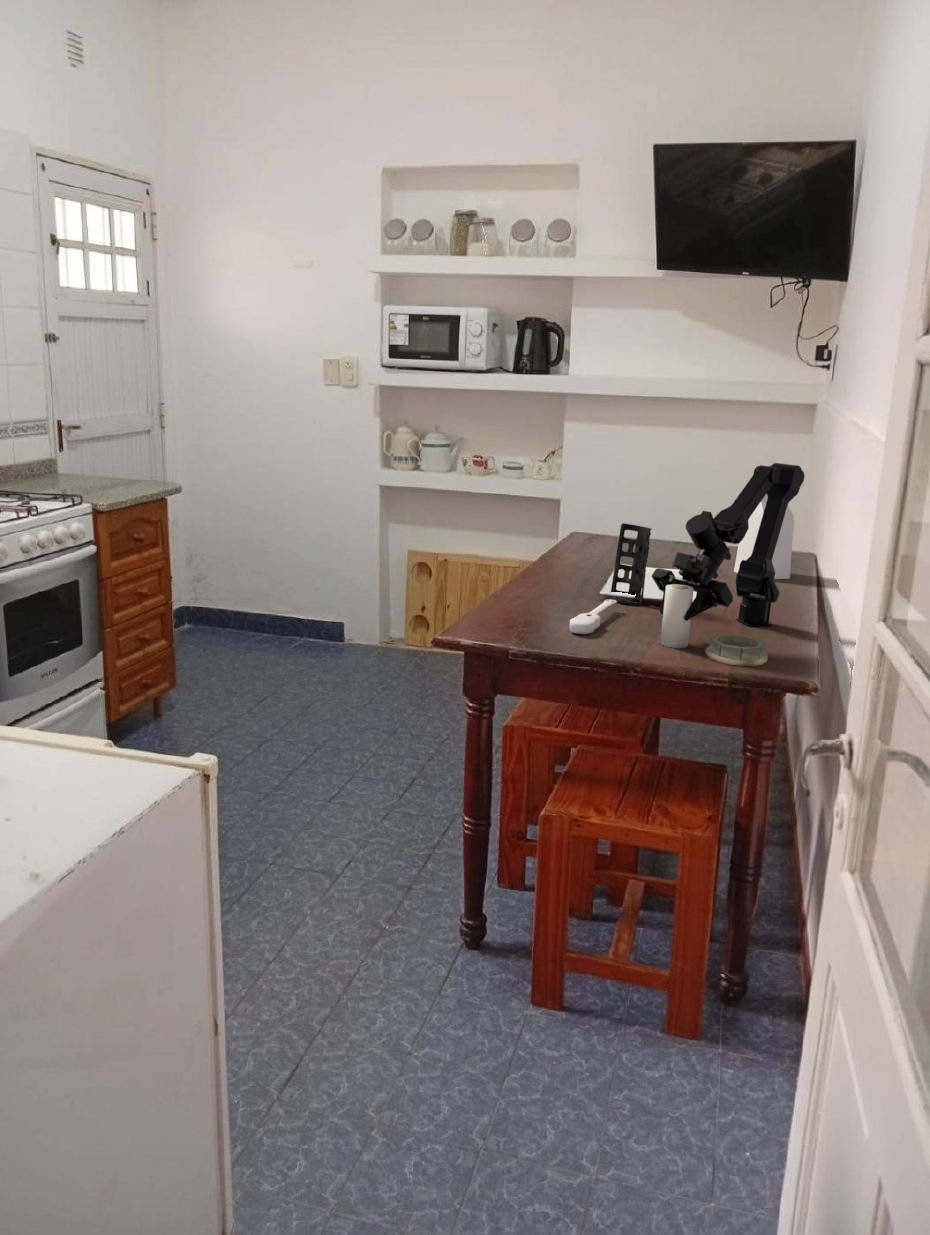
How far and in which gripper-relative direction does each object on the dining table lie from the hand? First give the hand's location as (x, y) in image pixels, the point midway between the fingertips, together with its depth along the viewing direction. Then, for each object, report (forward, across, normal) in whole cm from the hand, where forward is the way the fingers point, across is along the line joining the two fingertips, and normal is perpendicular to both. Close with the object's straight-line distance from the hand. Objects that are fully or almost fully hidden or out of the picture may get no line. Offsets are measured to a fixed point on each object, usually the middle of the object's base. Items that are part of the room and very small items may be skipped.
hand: (673, 616), depth 219 cm
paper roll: (+4, 0, +6) cm, 7 cm away
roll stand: (+2, +14, +8) cm, 16 cm away
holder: (-14, -32, +23) cm, 42 cm away
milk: (-58, -31, +68) cm, 95 cm away
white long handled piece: (+4, -23, +6) cm, 24 cm away
